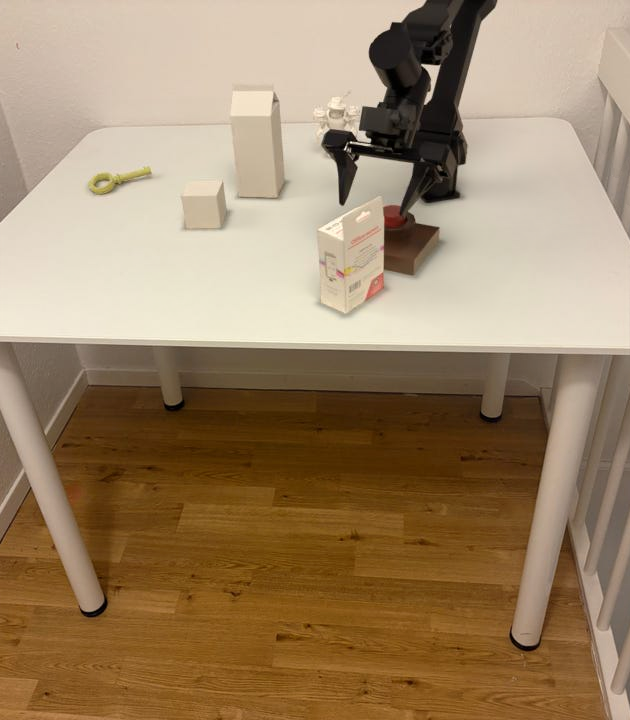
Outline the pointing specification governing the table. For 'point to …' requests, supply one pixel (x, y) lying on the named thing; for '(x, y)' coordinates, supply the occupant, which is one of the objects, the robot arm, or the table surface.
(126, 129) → the table surface
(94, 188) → the key
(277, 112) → the milk carton
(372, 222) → the ink cartridge box
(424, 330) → the table surface
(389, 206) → the switch button
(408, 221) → the switch box
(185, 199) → the cream cube
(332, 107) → the blocky character figurine
